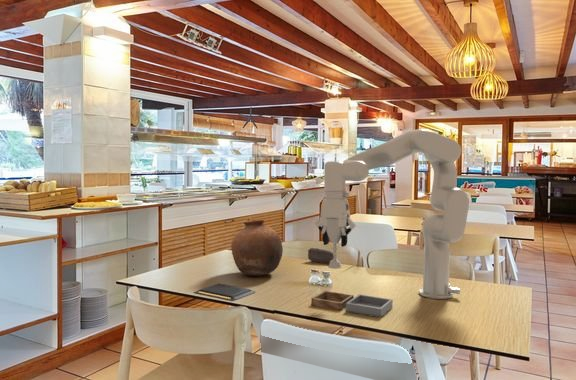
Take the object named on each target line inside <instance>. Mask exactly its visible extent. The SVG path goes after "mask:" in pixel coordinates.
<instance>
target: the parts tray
mask: <svg viewBox="0 0 576 380" xmlns="http://www.w3.org/2000/svg"><path fill="white" fill-rule="evenodd" d="M393 302H394V301H393V299H391V298H386V297H385V298H384V297H379V296H372V295H366V294H357V295H356V296H354V298H353V299H351V300H350V301H348V302H347V303H346V307H345V312H346V311H347V312H346V313H350V312H353V313H352V314H356V313H359V314H358V315H361V314H365V315H364V316H367V315H372V316H371V317H373V316H377V317H376V318H378V317H382V316H383V315H384V314H385V313H386V314H387V313H389V312H390V311H391V310H392V309H393ZM391 308H392V309H391ZM390 309H391V310H390ZM386 314H385V315H386ZM385 315H384V316H385ZM384 316H383V317H384ZM383 317H382V318H383Z"/></svg>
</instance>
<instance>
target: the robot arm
mask: <svg viewBox="0 0 576 380" xmlns="http://www.w3.org/2000/svg"><path fill="white" fill-rule="evenodd" d="M417 153H418V154H419V153H421V154H422V153H423V156H424V158H425V159H426V160H427V161H428V162H429V164H430V165H431V167H432V170H433V181H432V187H431V193H430V205H431V207H432V208H433V209H434V210H437V211H440V212H443V214H440V213H432V214H429V215H428V216H426V218H424V219H423V222H422V235H423V243H424V245H423V247H424V248H423V249H424V251H423V274H422V275H423V276H422V277H423V280H422V281H423V282H422V288H420V289H418V294H419V295H420V296H422V297H424V298H429V299H436V300H446V299H451V298H452V297H453V294H457V295H460V294H461V289H460V288H458V287H453V286H452V285H451V284H452V283H450V262H451V261H450V260H451V259H450V258H451V257H450V255H451V250H450V249H451V247H450V243H451V244H452V243H457V242H459V241H460V240H461V239H462V238H463V237H464V234H465V231H466V225H467V220H468V213H469V208H470V205H469V204H470V200H469V196H468V194H467V193H466V191H465V190H463V189H462V188H460V187H457V178H458V177H457V176H458V171H457V167H456V164H455V163H454V162H456V161H457V160H459V158H460V156H461V154H462V147H461V145H460V144H459V142H458V141H456V140H455V139H452V138H450V137H448V136H445V135H443V134H439V133H437V132H435V131H432V130H429V129H425V128H424V129H423V128H422V129H413V130H412V129H411V130H408V131H406V132H404V133H402V134H400V135H397V136H395V137H393V138H392V139H391V138H390V140H387V141H385V142H383V143H381V144H378V145H376V146H373V147H372V148H369V149H367V150H364V151H362V152H359V153H357V154H355V155H353V156H351V157H349V158H346V159H345V160H343V161H339V160H337V161H336V160H333V161H332V160H331V161H326V162H325V163H324V169H323V170H324V172H323V173H324V185H323V187H324V189H323V190H324V194H323V195H324V198H323V199H322V201H321V208H320V217H319V218H318V219H317V220H316V221H315V222H314V225H315V226H316V227H317V228H318V230H319V231H320V232H321V234H322V242H323V245H324V246H327V245H329V243H330V239H329V237H328V234H327V231H326V227H327V220H326V218H327V219H339V220H338V227H340V229H341V231H342V236H341V239H340V241H341V242H340V246H341V248H342V247H343V248H344V247H346V246H347V244H348V235H349V234H350V233H351V232H352V231H353V229H354V228H356V226H357V225H356V224H355V222H354V221H353V220H352V219H351V211H350V204H349V203H350V202H349V200H348V199H346V198H347V197H349V196H350V192H347V191H346V181H348V182H349V181H351V182H361V181H364V180H366V179H367V177H368V176H369V173H370V170H373V169H379V168H384V167H389V166H392V165H395V164H396V163H398V162H400V161H402V160H404V159H406V158H409V157H410V156H412V155H413V154H414V155H415V154H417ZM347 227H348V228H347Z"/></svg>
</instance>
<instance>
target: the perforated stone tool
mask: <svg viewBox="0 0 576 380" xmlns="http://www.w3.org/2000/svg"><path fill="white" fill-rule="evenodd" d="M307 251H308V253H307V258H308V259H309V261H311V262H314V263H320V264H329V263H330V261H331V260H333V258H334V256H333V252H332V251H331V250H330V251H329V250H327V249H323V248H315V247H311V248H309V249H308V250H307Z"/></svg>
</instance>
